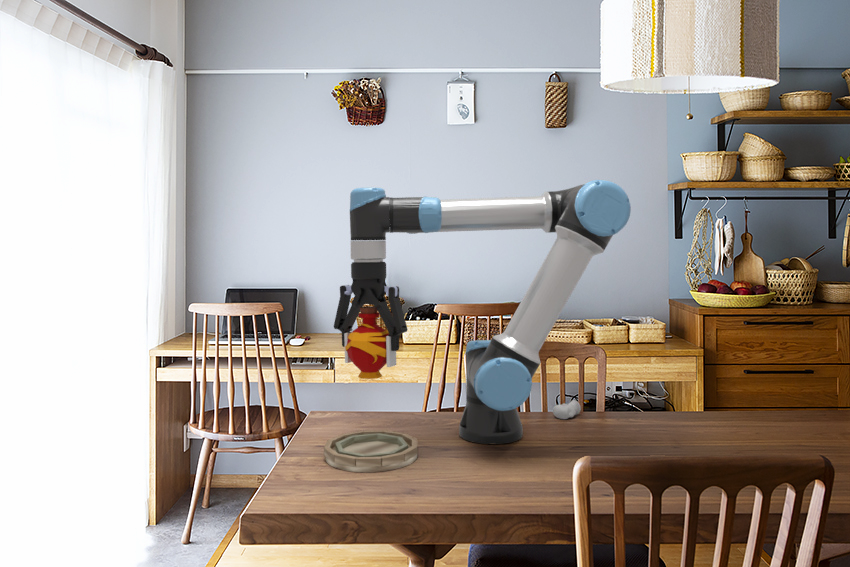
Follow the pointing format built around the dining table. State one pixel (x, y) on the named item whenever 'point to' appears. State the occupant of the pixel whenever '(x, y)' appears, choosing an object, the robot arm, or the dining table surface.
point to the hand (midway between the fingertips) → (370, 363)
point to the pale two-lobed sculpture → (567, 410)
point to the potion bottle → (368, 345)
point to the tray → (371, 451)
